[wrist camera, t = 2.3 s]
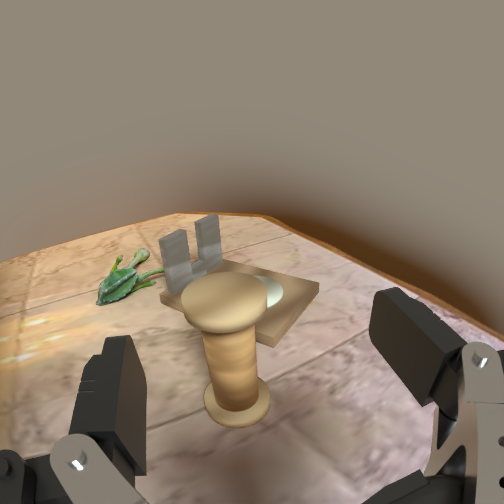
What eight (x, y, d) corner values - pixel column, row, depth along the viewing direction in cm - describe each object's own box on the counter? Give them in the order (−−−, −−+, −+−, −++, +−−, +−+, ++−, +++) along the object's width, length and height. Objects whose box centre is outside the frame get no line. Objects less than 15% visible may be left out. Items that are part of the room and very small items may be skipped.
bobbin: (193, 409, 26) (163, 301, 21) (230, 372, 31) (216, 265, 26) (247, 438, 23) (233, 329, 18) (281, 393, 28) (282, 283, 23)
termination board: (161, 303, 43) (148, 241, 39) (217, 265, 53) (211, 211, 49) (273, 347, 34) (272, 273, 30) (318, 292, 44) (321, 228, 40)
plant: (195, 276, 52) (191, 240, 49) (113, 320, 40) (102, 281, 38) (147, 254, 60) (142, 223, 57) (76, 286, 49) (67, 253, 46)
